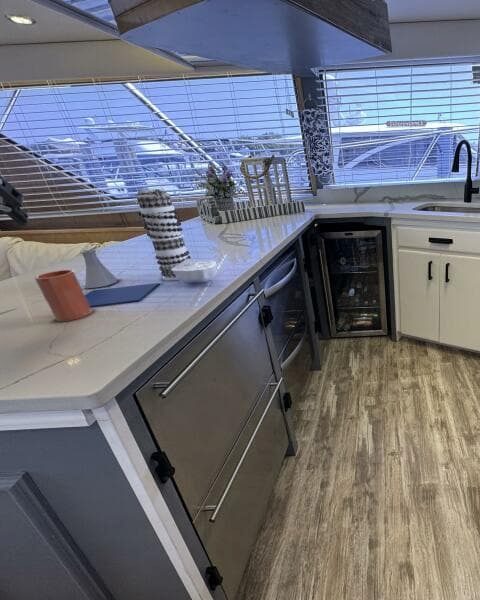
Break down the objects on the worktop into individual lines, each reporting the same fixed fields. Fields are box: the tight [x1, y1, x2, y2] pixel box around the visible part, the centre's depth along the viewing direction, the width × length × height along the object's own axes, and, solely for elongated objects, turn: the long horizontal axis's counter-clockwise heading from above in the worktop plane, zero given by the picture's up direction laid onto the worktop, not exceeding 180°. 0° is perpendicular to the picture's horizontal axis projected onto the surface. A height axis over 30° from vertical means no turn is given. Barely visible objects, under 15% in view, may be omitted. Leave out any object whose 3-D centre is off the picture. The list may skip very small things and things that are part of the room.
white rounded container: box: [171, 258, 218, 284], centre depth 90 cm, size 10×12×7 cm
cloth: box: [85, 282, 160, 308], centre depth 84 cm, size 16×13×1 cm
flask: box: [79, 249, 118, 289], centre depth 91 cm, size 7×7×10 cm
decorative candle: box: [135, 188, 192, 282], centre depth 93 cm, size 9×9×25 cm
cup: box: [33, 269, 93, 323], centre depth 71 cm, size 6×6×10 cm
